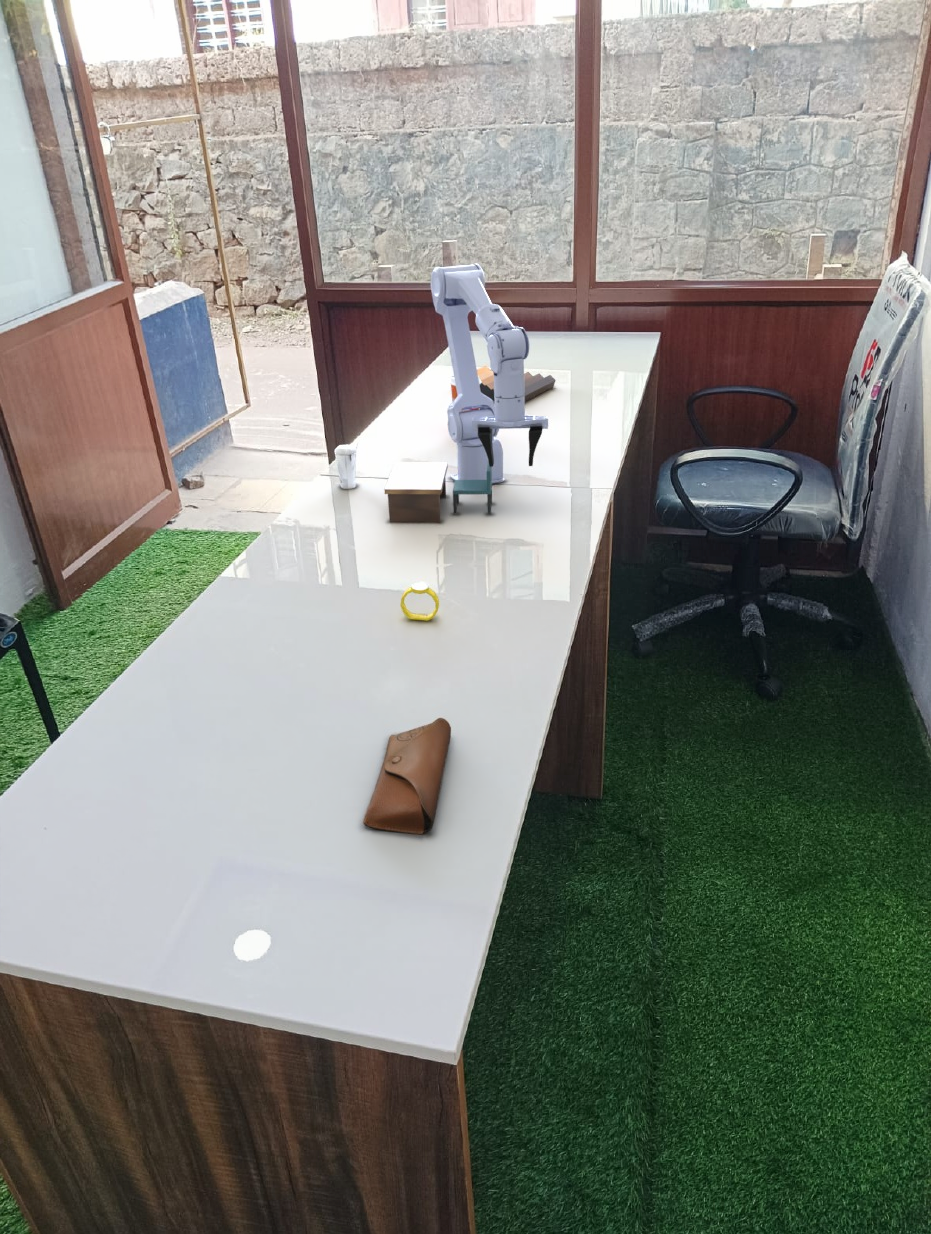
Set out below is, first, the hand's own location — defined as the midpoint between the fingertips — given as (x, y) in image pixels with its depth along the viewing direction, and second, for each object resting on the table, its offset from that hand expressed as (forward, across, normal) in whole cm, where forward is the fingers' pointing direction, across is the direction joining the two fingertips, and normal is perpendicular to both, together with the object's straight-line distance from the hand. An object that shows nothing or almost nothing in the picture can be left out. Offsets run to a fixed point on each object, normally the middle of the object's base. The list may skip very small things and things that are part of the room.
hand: (511, 465), depth 179 cm
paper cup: (+6, -15, +49) cm, 52 cm away
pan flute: (+4, -11, +85) cm, 86 cm away
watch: (+12, -12, -44) cm, 47 cm away
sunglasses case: (+15, -7, -84) cm, 86 cm away
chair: (+9, -8, +1) cm, 12 cm away
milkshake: (+8, -36, +12) cm, 38 cm away
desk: (+9, -19, 0) cm, 21 cm away
